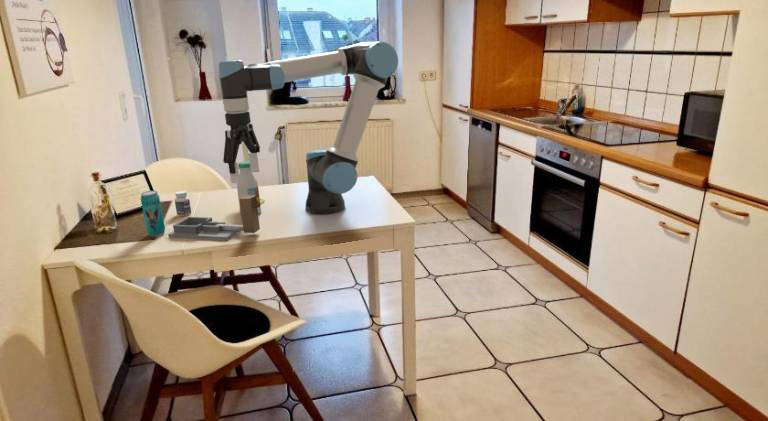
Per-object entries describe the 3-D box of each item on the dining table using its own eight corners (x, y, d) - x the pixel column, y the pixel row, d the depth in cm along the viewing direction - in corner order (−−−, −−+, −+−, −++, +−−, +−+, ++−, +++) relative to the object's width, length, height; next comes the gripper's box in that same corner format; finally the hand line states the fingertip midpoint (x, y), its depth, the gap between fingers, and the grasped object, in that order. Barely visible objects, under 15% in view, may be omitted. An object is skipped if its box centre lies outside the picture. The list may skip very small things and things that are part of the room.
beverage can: (147, 238, 170) (139, 196, 166) (148, 233, 175) (139, 191, 171) (166, 235, 172) (158, 193, 168) (165, 230, 177) (158, 189, 173)
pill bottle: (186, 216, 191) (182, 194, 188) (174, 216, 192) (170, 194, 189) (194, 212, 196) (190, 190, 193) (182, 211, 197) (178, 190, 194)
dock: (244, 227, 177) (243, 217, 176) (227, 240, 166) (226, 229, 165) (188, 225, 182) (187, 215, 181) (168, 237, 171) (166, 226, 170)
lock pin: (259, 228, 171) (255, 195, 168) (254, 233, 168) (250, 198, 164) (220, 226, 175) (215, 193, 171) (214, 231, 171) (208, 197, 167)
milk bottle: (243, 218, 187) (236, 166, 181) (238, 212, 194) (231, 161, 187) (263, 214, 191) (257, 163, 184) (258, 209, 197) (252, 159, 191)
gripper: (244, 106, 169) (252, 167, 176) (204, 117, 146) (215, 187, 153) (265, 106, 168) (272, 168, 175) (228, 117, 145) (237, 188, 152)
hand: (245, 177), depth 164 cm, fingers open, 13 cm apart
